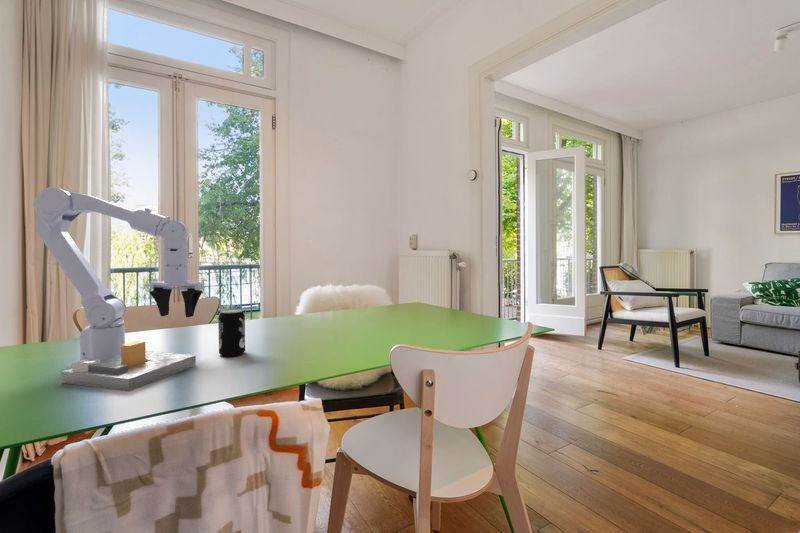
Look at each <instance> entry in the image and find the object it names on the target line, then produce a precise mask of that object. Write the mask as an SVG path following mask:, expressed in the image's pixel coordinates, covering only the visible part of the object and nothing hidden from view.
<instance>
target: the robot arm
mask: <svg viewBox="0 0 800 533" xmlns="http://www.w3.org/2000/svg"><path fill="white" fill-rule="evenodd" d="M32 205H33V207H34V210H35V225H36V226H35V227H36V228H35V229H36V234H37V235H38V237H40V239H41V240H42V242H43V244H44V245H45V247H46V248H47V249H48V250H49V252H50V253H51V256H52V257H53V258H54V259H55V260H56V262H57V264H58V265H59V266H60V268H61V269H62V270H63V272H64V274H65V275H66V276H67V277H68V279H69V280H70V282H71V283H72V285H73V286H74V288H75V289H76V290H77V292H78V293H79V295H80V296H81V297H80V304H81V306H82V307H83V310H84V315H85V316H84V317H85V319H86V321H87V323H89V324H88V325H87V326H84V328H83V329H82V330H81V331H80V334H79V353H80V354H79V355H80V356H79V359H77V360H76V361H79V360H84V359H100V360H104V359H107V358H111V357H114V356H118V355H121V345H124V344H126V337H125V336H126V334H125V332H126V331H125V321H124V319H123V317H125V315H126V313H127V304H126V303H125V301H124V300H123V299H121V298H119V297H117V296H116V295H115V294H114V292H113V291H112V290H111V289H109V288H108V287H106V286H105V285H104V283H103V282H102V281H101V279H100V278H99V276H98V275H97V273H96V272H95V270H94V268H92V266H91V264H90V263H89V261H88V260H87V258H86V257H85V255H84V254H83V252H82V251H81V250H80V248H79V247H78V246H77V244H76V242H75V241H74V239H73V238H72V236H71V235H70V233H69V229H70V227H71V225H72V223H73V222H74V221H75V220H76V219H77V218H78V217H79V216H80V215H81V214H82V213H84V214H90V213H94V212H95V213H98V214H102V215H104V216H107V217H111V218H114V219H117V220H121V221H124V222H127V223H128V224H129V226H130V228H131V229H132V230H135V231H138V232H141V233H144V234H147V235H150V236H153V237H156V238H162V239H163V249H162V257H163V259H162V260H163V263H162V264H163V280H161V281H159V280H157V281H156V280H154V281H150V282H149V289H150V291H149V295H150V296H151V297H152V298H153V300H154V301H155V303H156V306H157V308H158V311H159V315H160V317H165V316H169V313H170V299H171V298H170V297H171V295H172V291H173V290H182V291H181V292H180V293H181V296H182V299H183V302H184V313H185V318H190V317H194V315H195V310H196V308H197V303H198V302H199V300H200V297H201V296H202V294H203V290H204V282H202V281H201V282H200V281H199V282H198V281H190V280H189V254H188V253H189V251H188V250H189V249H188V241H187V238H188V236H189V228H188V226H187V225H186V224H185V223H183V222H182V221H179V220H173V219H172V216H170V215H166V216H164V215H161V214H158V213H156V212H152V211H153V210H152V209H150V208H149V207H146V208H145V209H144V208H141V207H140V208H137V209H134V210H131V209H128V208H125V207H123V206H121V205H118V204H115V203H112V202H109V201H106V200H104V199H101V198H99V197H96V196H93V195H89V194H85V193H80V192H76V191H70V190H64V189H62V188H59V187H53V186H52V187H45V188H43V189H42V190H40V191H39V192H38V194H37V195H36V197H35V199H34V201H33V203H32Z"/></svg>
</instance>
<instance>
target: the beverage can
mask: <svg viewBox="0 0 800 533" xmlns="http://www.w3.org/2000/svg"><path fill="white" fill-rule="evenodd" d="M219 312H220V313H219V315H218V317H217V321H218V325H217V326H218V354H220V356H221V357H224V358H233V357H238V356H242V355H243V354H244V353H245V352H246V318H245V317H246V315H245V313H244V309H242V308H241V309H240V308H228V309H227V308H226V309H221V310H220V311H219Z"/></svg>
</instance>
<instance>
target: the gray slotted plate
mask: <svg viewBox="0 0 800 533" xmlns="http://www.w3.org/2000/svg"><path fill="white" fill-rule="evenodd" d="M196 359H197V356H196V355H194V354H184V353H173V352H172V353H171V352H162V351H161V352H160V351H154V350H153V351H152V350H146V362H145V363H141V364H138V365H135V366H132V367H128V365H122V364H121V355H118V356H114V357H111V358H107V359H104V360H100V359H84V360H79V361H77V360H76V361H73V362H72V363H71V368H70V369H65V370H62V371H60V372H61V384H68V385H75V386H76V385H77V386H83V387H92V388H99V389H100V388H101V389H102V388H103V389H107V390H108V389H109V390H118V391H122V392H123V391H124V392H130V391H133V390H135V389H138V388H141V387H143V386H146V385H149V384H152V383H154V382H157V381H159V380H161V379H164V378H166V377H169V376H172V375H175V374H177V373H179V372H183V371H186V370H187V369H190V368H192V367H193V368H194V367H196V365H197V362H196Z"/></svg>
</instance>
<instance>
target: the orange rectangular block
mask: <svg viewBox="0 0 800 533" xmlns="http://www.w3.org/2000/svg"><path fill="white" fill-rule="evenodd" d="M146 351H147V349H146V341H137V340H135V341H133V342H132V341H131V342H127V343H125V344H124V345H121V364H122V365H128V367H132V366H135V365H138V364H141V363H145V362H146Z"/></svg>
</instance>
